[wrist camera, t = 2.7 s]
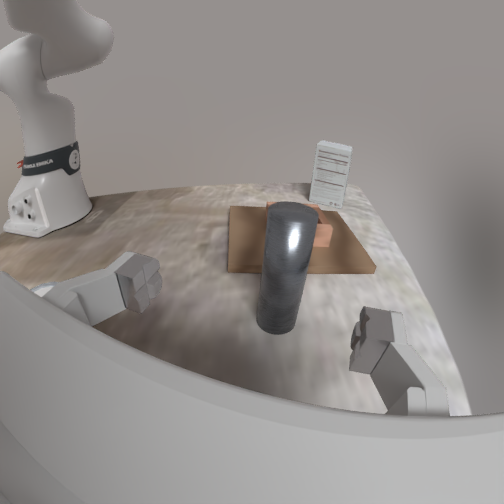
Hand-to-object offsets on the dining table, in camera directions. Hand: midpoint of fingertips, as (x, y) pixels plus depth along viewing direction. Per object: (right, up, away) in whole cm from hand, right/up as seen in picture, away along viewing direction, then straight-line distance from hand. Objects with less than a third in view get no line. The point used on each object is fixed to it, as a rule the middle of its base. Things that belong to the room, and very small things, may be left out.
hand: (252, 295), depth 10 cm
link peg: (+2, -5, +17) cm, 18 cm away
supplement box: (+16, +13, +48) cm, 53 cm away
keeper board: (+6, +4, +32) cm, 33 cm away
